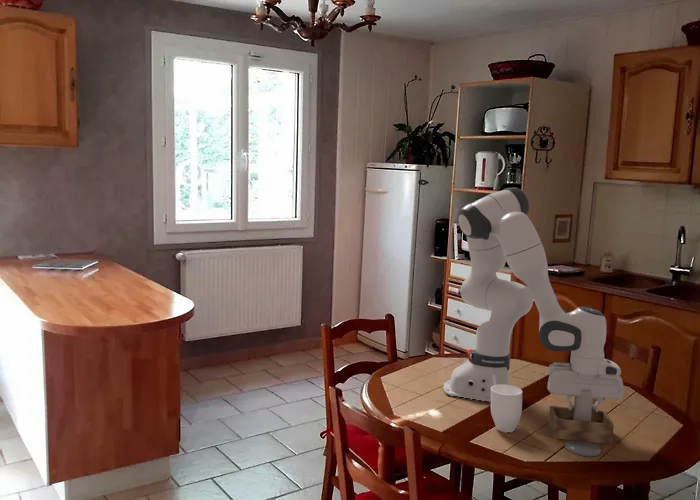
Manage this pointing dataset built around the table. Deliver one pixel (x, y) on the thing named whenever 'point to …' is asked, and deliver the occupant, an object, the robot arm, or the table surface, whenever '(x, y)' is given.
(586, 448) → the slate coaster
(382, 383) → the table surface
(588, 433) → the box
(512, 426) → the mug
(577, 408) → the beverage can
